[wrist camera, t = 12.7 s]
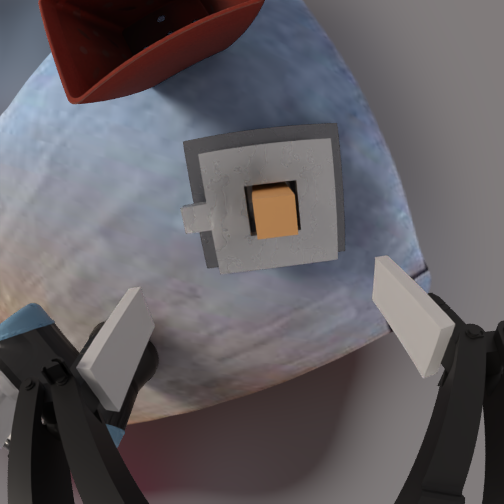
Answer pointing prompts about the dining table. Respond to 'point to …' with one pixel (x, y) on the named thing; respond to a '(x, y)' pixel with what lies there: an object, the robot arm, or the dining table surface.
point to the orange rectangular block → (274, 210)
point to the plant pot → (136, 41)
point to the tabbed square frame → (261, 172)
